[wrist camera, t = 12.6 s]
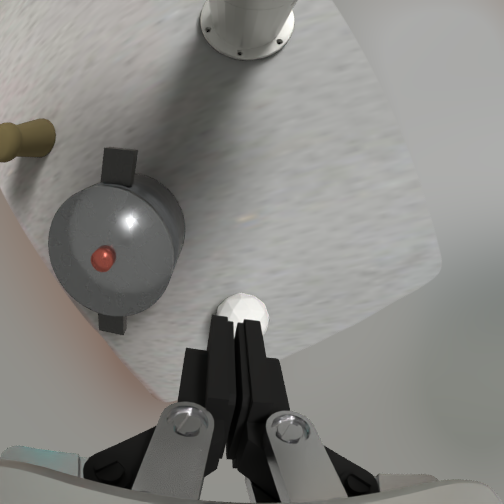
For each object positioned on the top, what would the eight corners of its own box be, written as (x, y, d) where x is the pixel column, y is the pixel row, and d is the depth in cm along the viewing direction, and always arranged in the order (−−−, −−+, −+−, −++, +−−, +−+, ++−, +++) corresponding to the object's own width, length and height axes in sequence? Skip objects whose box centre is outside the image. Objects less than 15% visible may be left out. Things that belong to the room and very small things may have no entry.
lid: (52, 178, 32) (42, 182, 29) (182, 195, 34) (178, 199, 31) (55, 299, 37) (47, 308, 35) (168, 321, 39) (165, 333, 37)
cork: (31, 163, 40) (-11, 175, 30) (21, 129, 38) (-22, 133, 28) (60, 147, 40) (19, 154, 30) (49, 111, 38) (7, 110, 27)
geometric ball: (246, 288, 53) (278, 291, 46) (250, 335, 53) (281, 345, 46) (204, 293, 48) (232, 298, 42) (209, 345, 48) (236, 357, 42)
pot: (89, 140, 40) (55, 144, 31) (197, 152, 42) (188, 158, 33) (83, 291, 48) (58, 323, 39) (176, 308, 50) (166, 346, 41)
